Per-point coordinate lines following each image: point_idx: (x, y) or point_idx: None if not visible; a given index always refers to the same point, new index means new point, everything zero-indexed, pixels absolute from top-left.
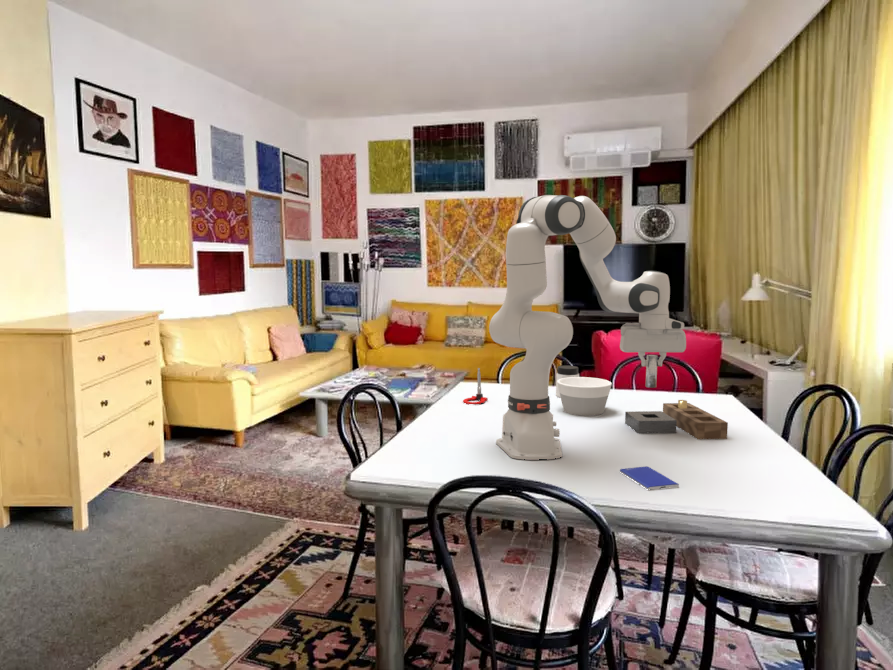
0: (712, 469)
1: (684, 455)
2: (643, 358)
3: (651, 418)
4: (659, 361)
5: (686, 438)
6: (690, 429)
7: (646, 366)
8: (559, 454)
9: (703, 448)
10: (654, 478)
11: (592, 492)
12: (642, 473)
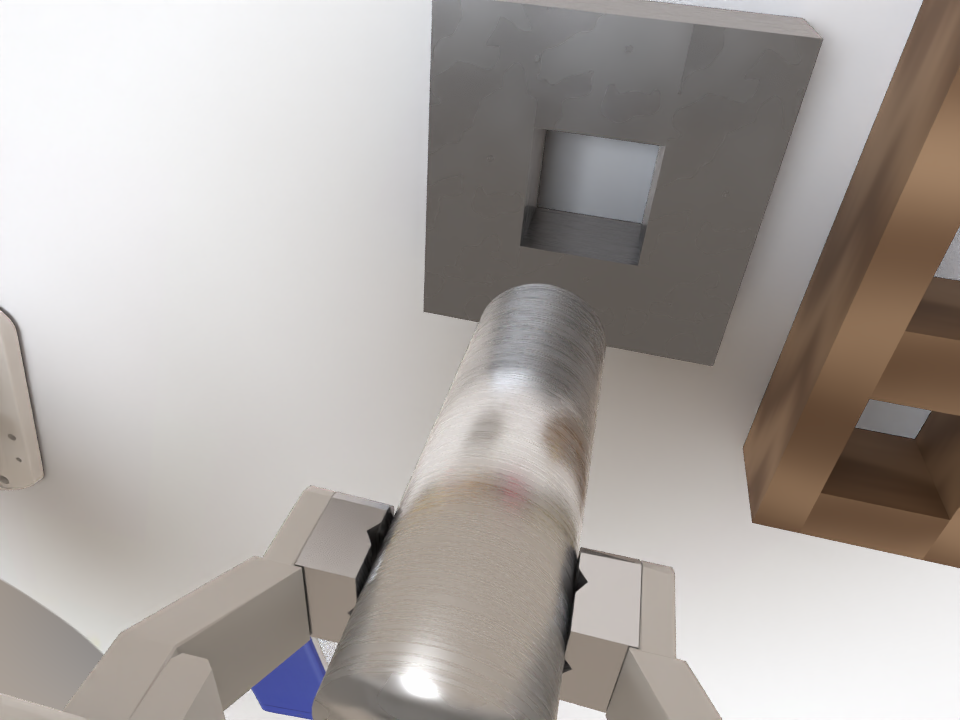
0: None
1: None
2: (242, 676)
3: (551, 274)
4: (585, 699)
5: (690, 417)
6: (779, 390)
7: (398, 508)
8: (27, 486)
9: (653, 550)
10: (292, 692)
11: None
12: None
